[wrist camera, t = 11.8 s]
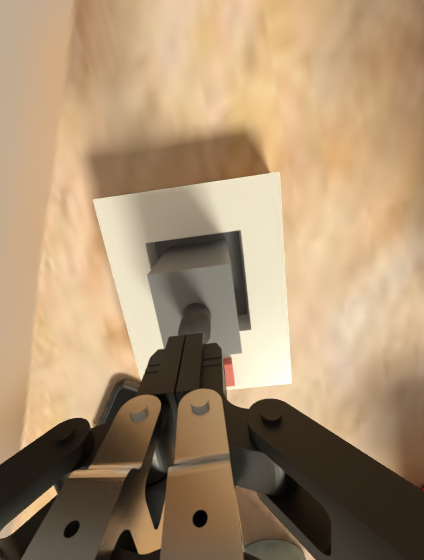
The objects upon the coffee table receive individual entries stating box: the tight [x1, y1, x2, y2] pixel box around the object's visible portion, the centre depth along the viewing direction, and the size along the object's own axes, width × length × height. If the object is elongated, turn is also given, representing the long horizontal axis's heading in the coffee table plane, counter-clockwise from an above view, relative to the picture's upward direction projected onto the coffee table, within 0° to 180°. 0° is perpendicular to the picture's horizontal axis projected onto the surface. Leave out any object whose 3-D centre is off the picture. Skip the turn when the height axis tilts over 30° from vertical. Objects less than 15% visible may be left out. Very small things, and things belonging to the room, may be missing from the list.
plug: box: [147, 239, 242, 355], centre depth 18 cm, size 4×6×9 cm
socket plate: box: [93, 172, 292, 390], centre depth 21 cm, size 12×16×4 cm
